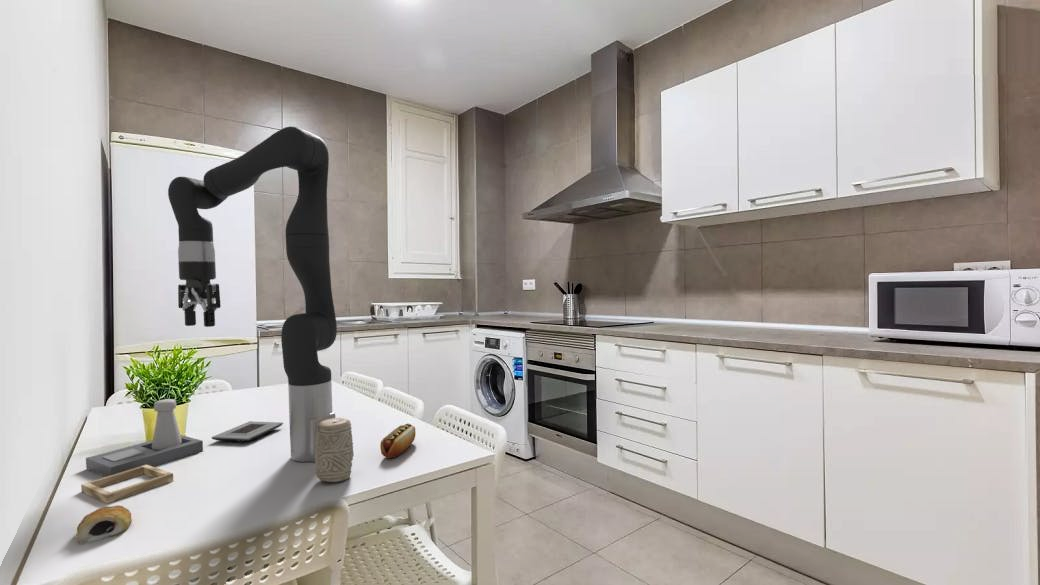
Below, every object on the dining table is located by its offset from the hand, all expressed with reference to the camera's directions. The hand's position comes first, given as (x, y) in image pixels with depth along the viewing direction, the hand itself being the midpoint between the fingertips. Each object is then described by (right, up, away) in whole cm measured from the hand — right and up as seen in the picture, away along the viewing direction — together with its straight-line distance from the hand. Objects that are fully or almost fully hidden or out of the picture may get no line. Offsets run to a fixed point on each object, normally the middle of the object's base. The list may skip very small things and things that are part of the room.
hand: (199, 326), depth 117 cm
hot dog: (+51, -30, -5) cm, 59 cm away
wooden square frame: (0, -31, -22) cm, 38 cm away
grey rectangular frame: (-7, -31, -7) cm, 32 cm away
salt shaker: (-5, -31, -4) cm, 31 cm away
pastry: (+10, -32, -38) cm, 51 cm away
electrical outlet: (+7, -30, +9) cm, 32 cm away
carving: (+41, -30, -20) cm, 55 cm away
